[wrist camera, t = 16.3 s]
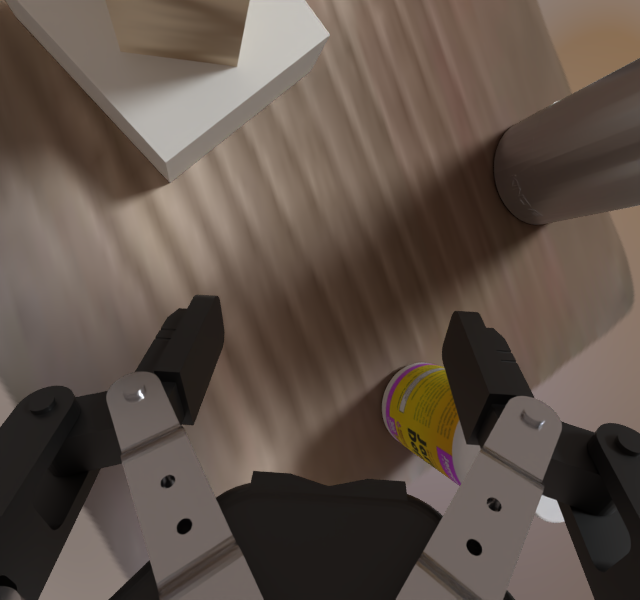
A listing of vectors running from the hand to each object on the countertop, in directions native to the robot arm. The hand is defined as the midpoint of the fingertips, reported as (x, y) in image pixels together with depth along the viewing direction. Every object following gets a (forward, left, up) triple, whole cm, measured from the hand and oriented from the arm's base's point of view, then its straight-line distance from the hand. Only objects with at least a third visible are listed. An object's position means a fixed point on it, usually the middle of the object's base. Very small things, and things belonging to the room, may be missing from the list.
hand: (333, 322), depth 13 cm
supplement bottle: (-4, +14, -14) cm, 20 cm away
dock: (-8, -16, -14) cm, 23 cm away
